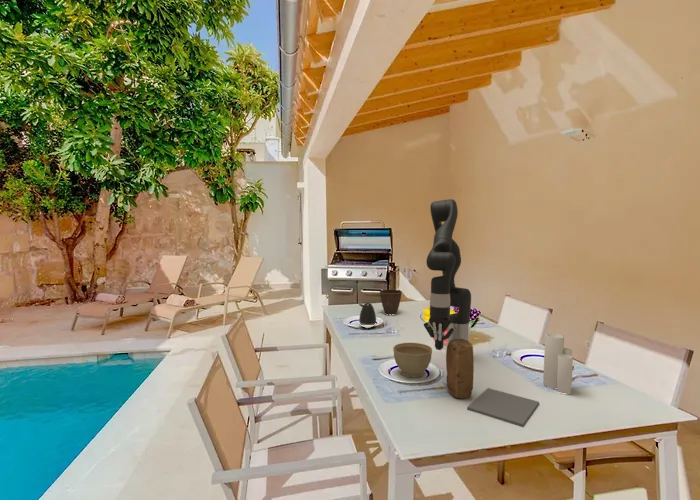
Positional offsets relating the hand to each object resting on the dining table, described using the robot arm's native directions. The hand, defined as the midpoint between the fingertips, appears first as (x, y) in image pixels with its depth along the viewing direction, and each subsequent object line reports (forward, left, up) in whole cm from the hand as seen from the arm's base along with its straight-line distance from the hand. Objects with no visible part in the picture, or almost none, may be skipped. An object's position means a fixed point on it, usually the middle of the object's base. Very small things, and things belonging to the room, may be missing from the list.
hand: (438, 349), depth 150 cm
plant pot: (-90, -80, -15) cm, 121 cm away
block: (0, +8, -15) cm, 17 cm away
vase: (-29, +36, -15) cm, 49 cm away
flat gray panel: (0, +25, -15) cm, 29 cm away
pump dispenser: (-52, -72, -15) cm, 90 cm away
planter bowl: (-6, -15, -15) cm, 22 cm away
